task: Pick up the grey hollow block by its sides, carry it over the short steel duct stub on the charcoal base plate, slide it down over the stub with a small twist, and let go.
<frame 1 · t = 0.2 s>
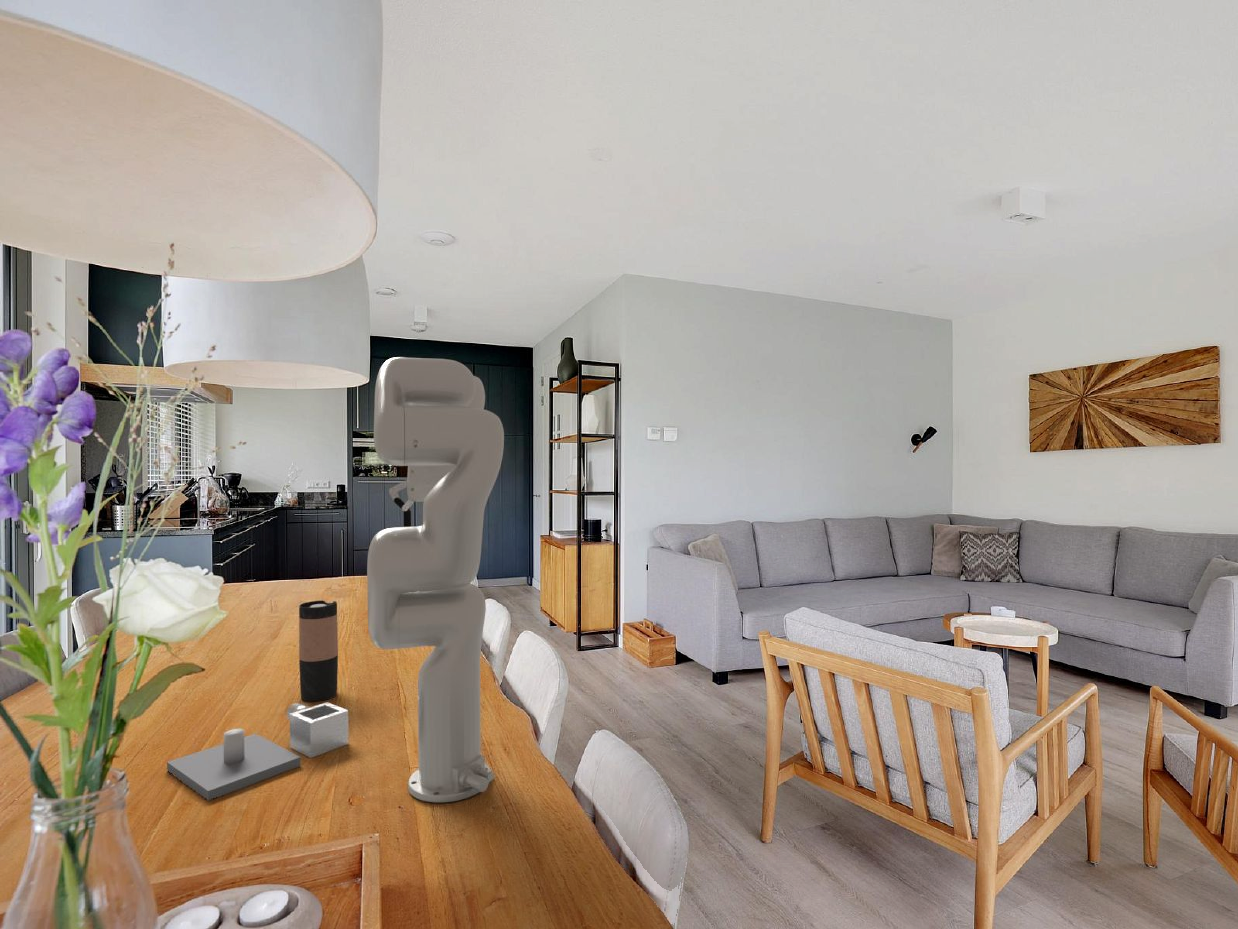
hand: (433, 529, 134), 37 cm above the table, tool pointing down, fingers open, 9 cm apart
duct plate: (234, 768, 109), on the table
grey hollow block: (319, 745, 118), on the table
travel mug: (319, 697, 143), on the table
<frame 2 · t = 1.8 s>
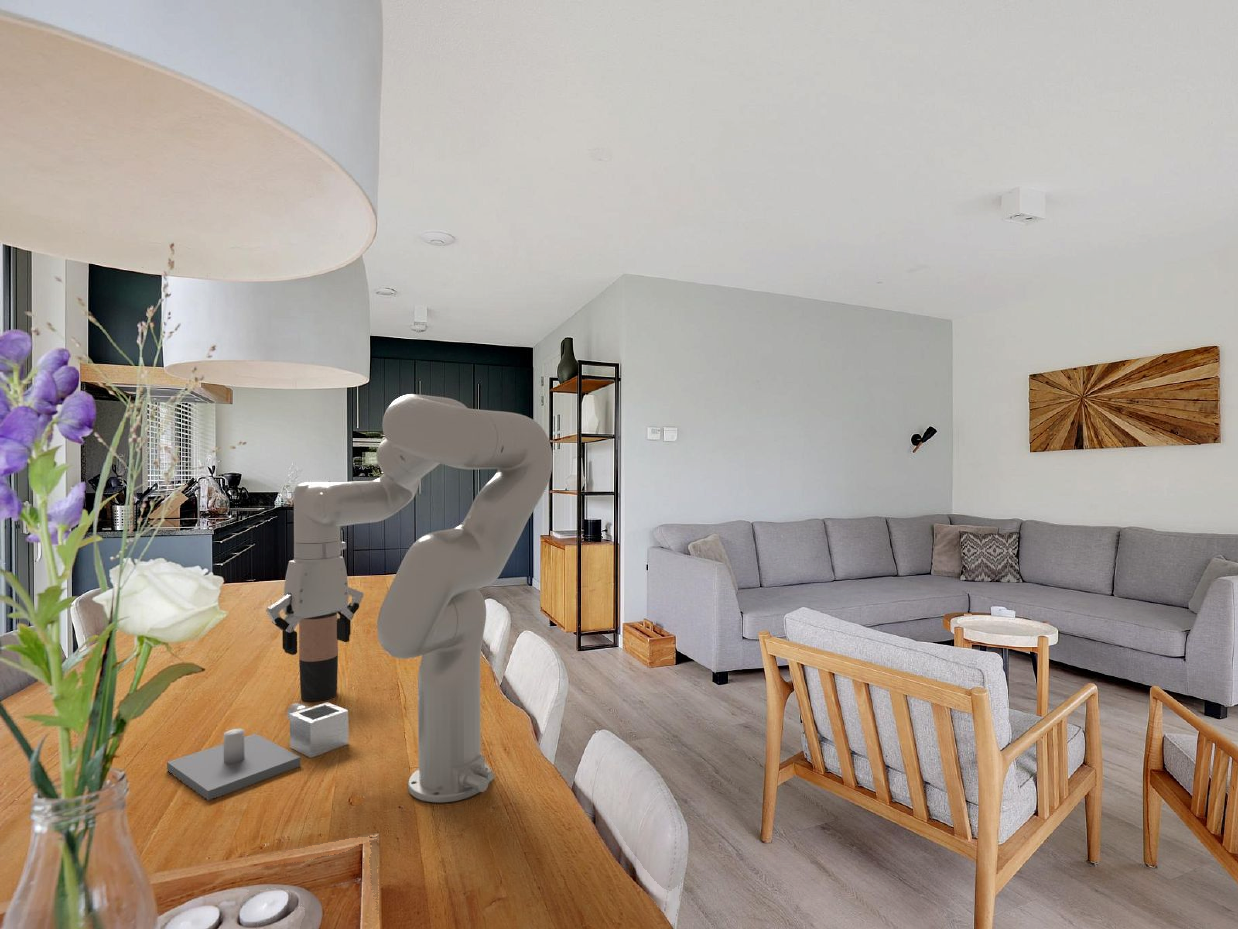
hand: (317, 646, 118), 18 cm above the table, tool pointing down, fingers open, 9 cm apart
nothing on the table moved.
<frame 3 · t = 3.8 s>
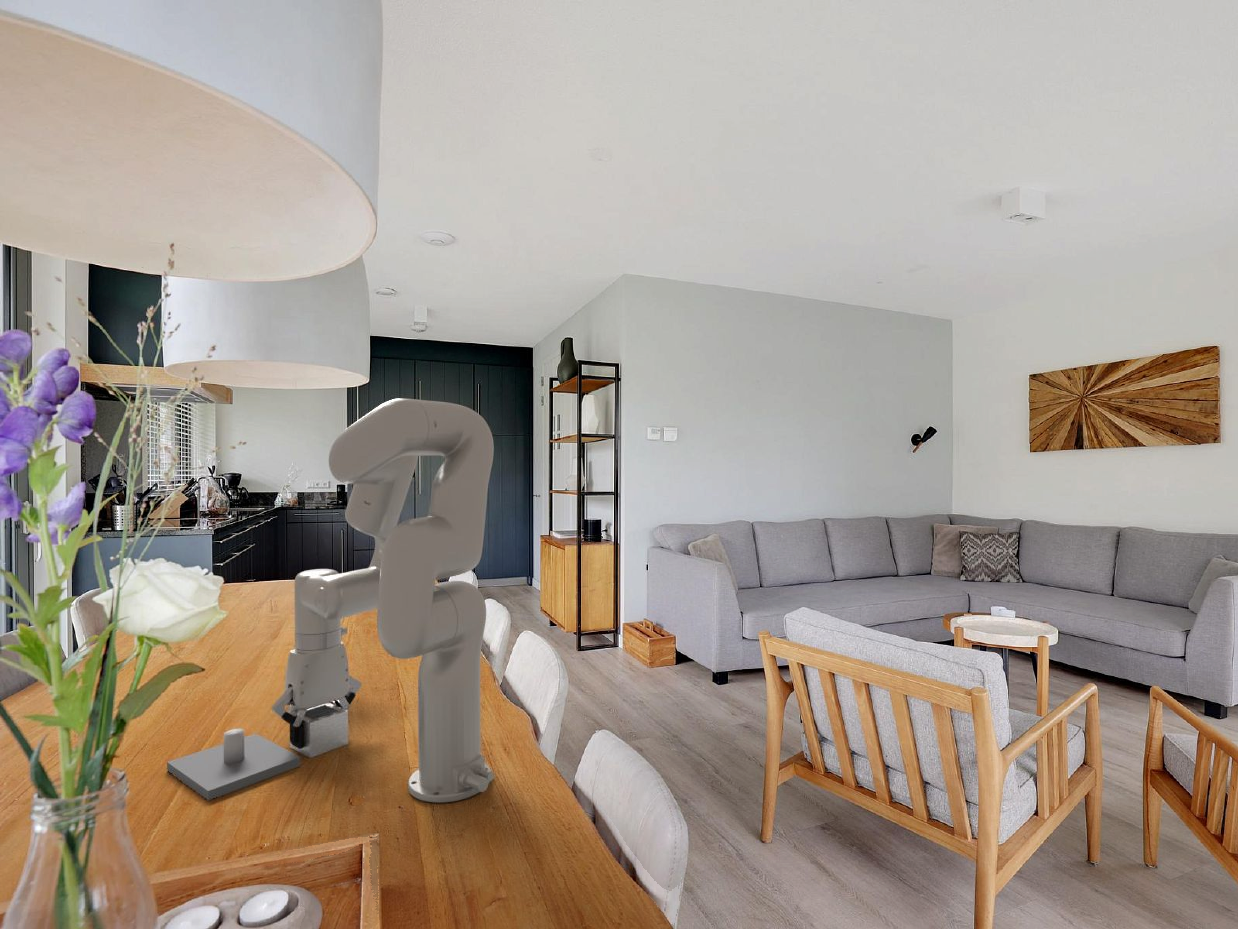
hand: (319, 738, 118), 1 cm above the table, tool pointing down, fingers closed on grey hollow block, 7 cm apart
grey hollow block: (319, 745, 118), on the table, touching gripper
everything else where it was.
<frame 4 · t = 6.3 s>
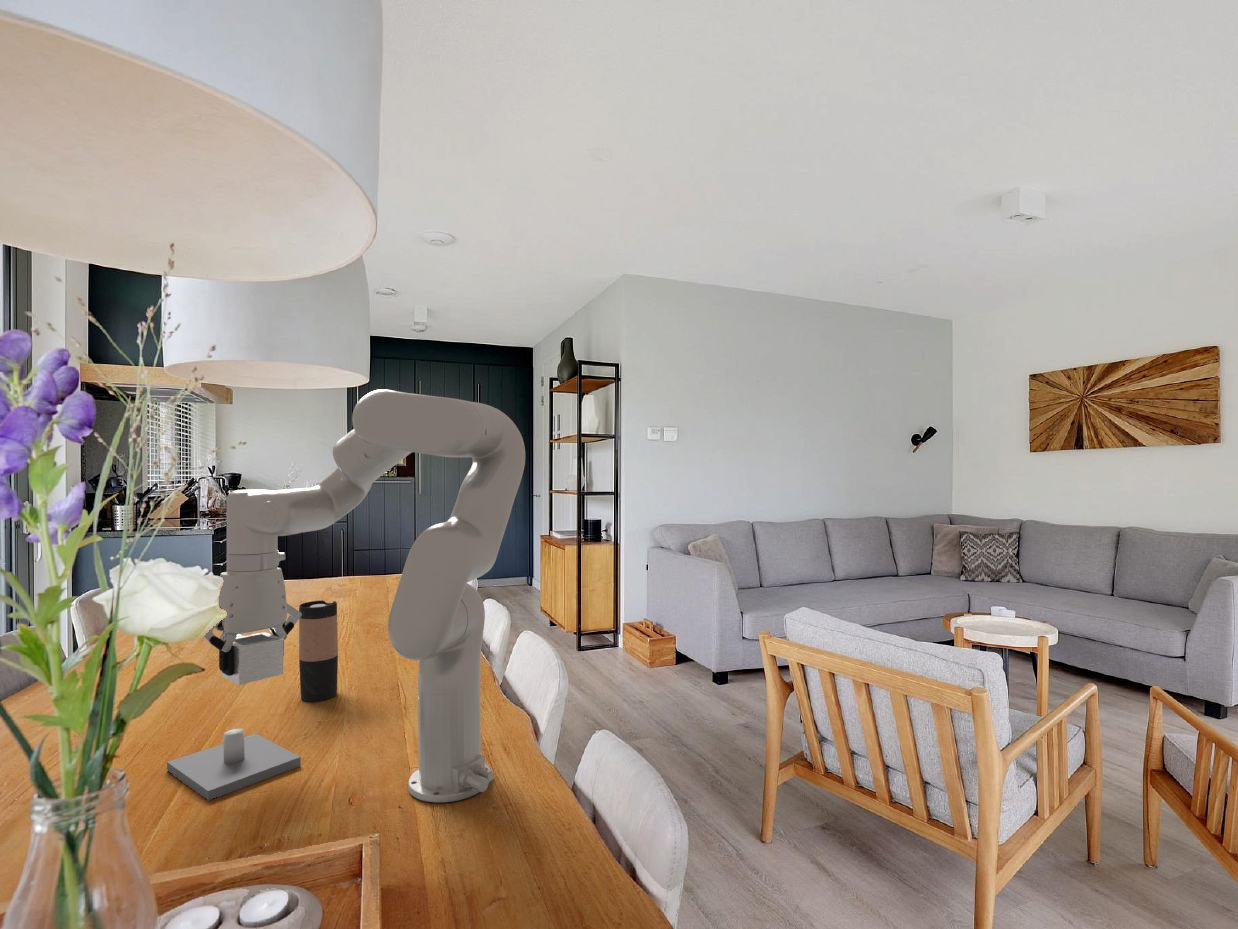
hand: (252, 667, 111), 16 cm above the table, tool pointing down, fingers closed on grey hollow block, 7 cm apart
grey hollow block: (252, 675, 111), point 15 cm above the table, touching gripper
everything else where it was.
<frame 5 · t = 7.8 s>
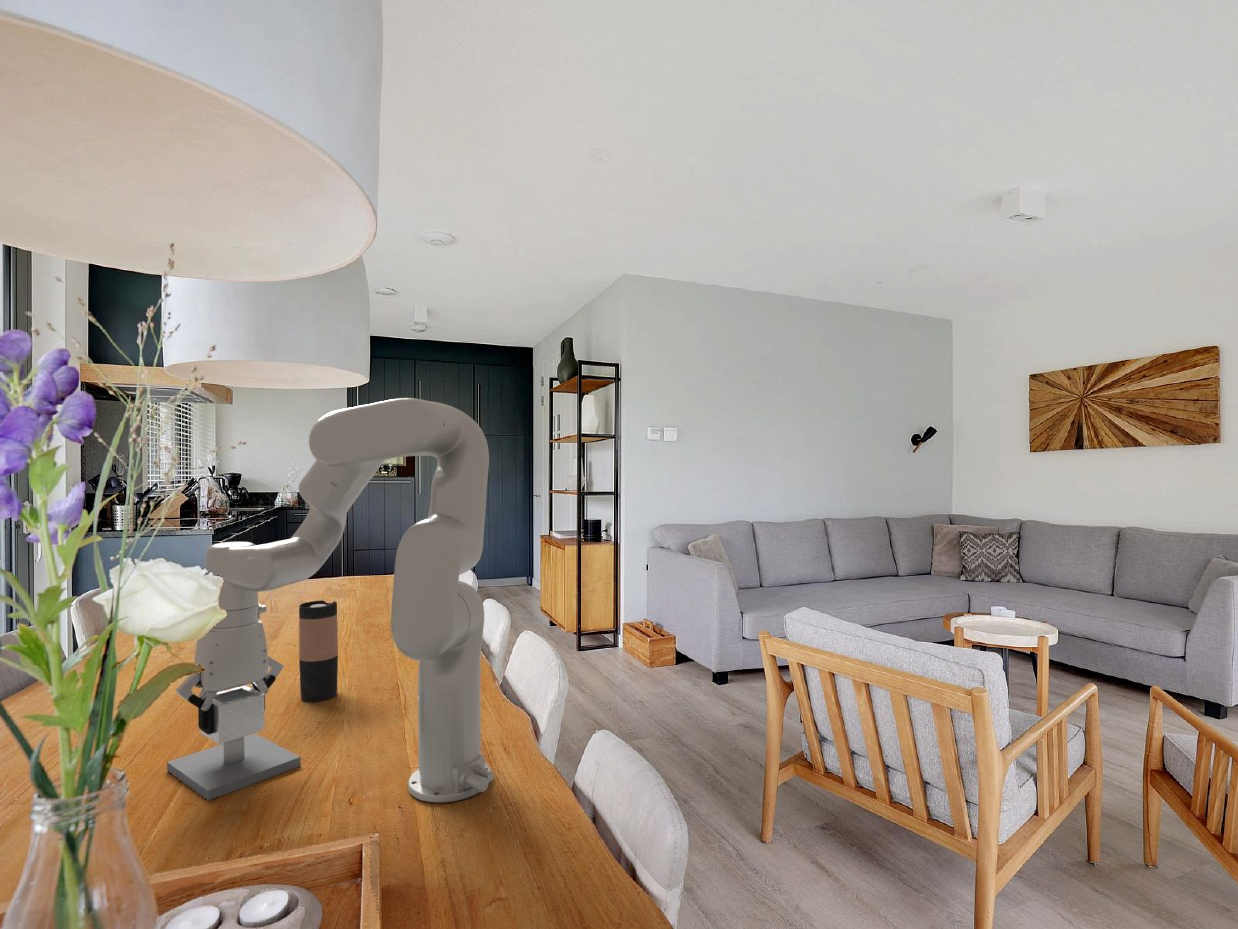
hand: (232, 723, 109), 7 cm above the table, tool pointing down, fingers closed on grey hollow block, 7 cm apart
grey hollow block: (232, 731, 109), point 6 cm above the table, touching gripper
everything else where it was.
when the fingers open (4 cm above the table, at t = 9.1 s): grey hollow block drops 1 cm, resting on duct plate.
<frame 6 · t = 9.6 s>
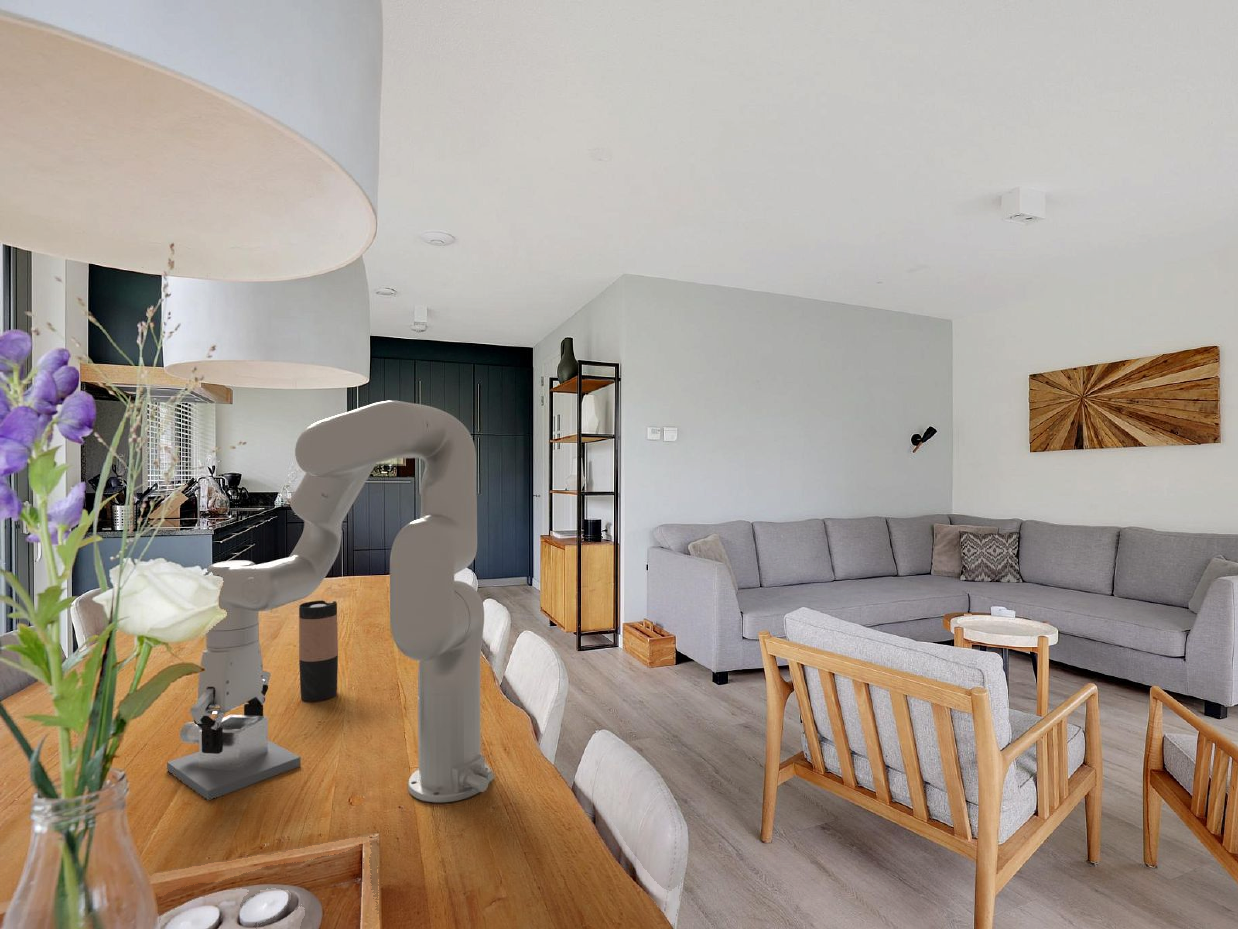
hand: (233, 739, 109), 5 cm above the table, tool pointing down, fingers open, 9 cm apart
grey hollow block: (234, 759, 109), point 1 cm above the table, touching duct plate
everything else where it was.
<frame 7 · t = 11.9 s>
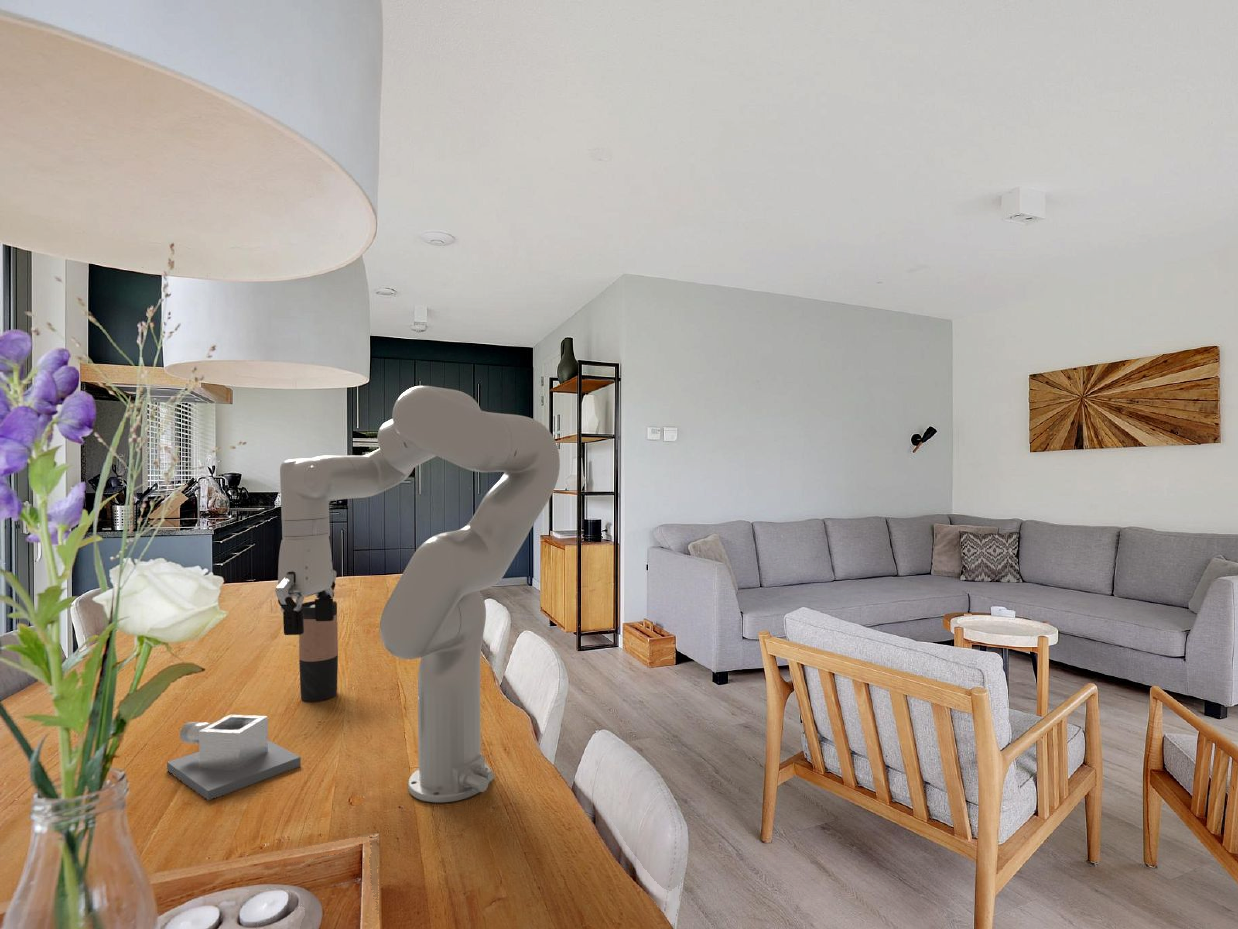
hand: (309, 627, 115), 22 cm above the table, tool pointing down, fingers open, 9 cm apart
nothing on the table moved.
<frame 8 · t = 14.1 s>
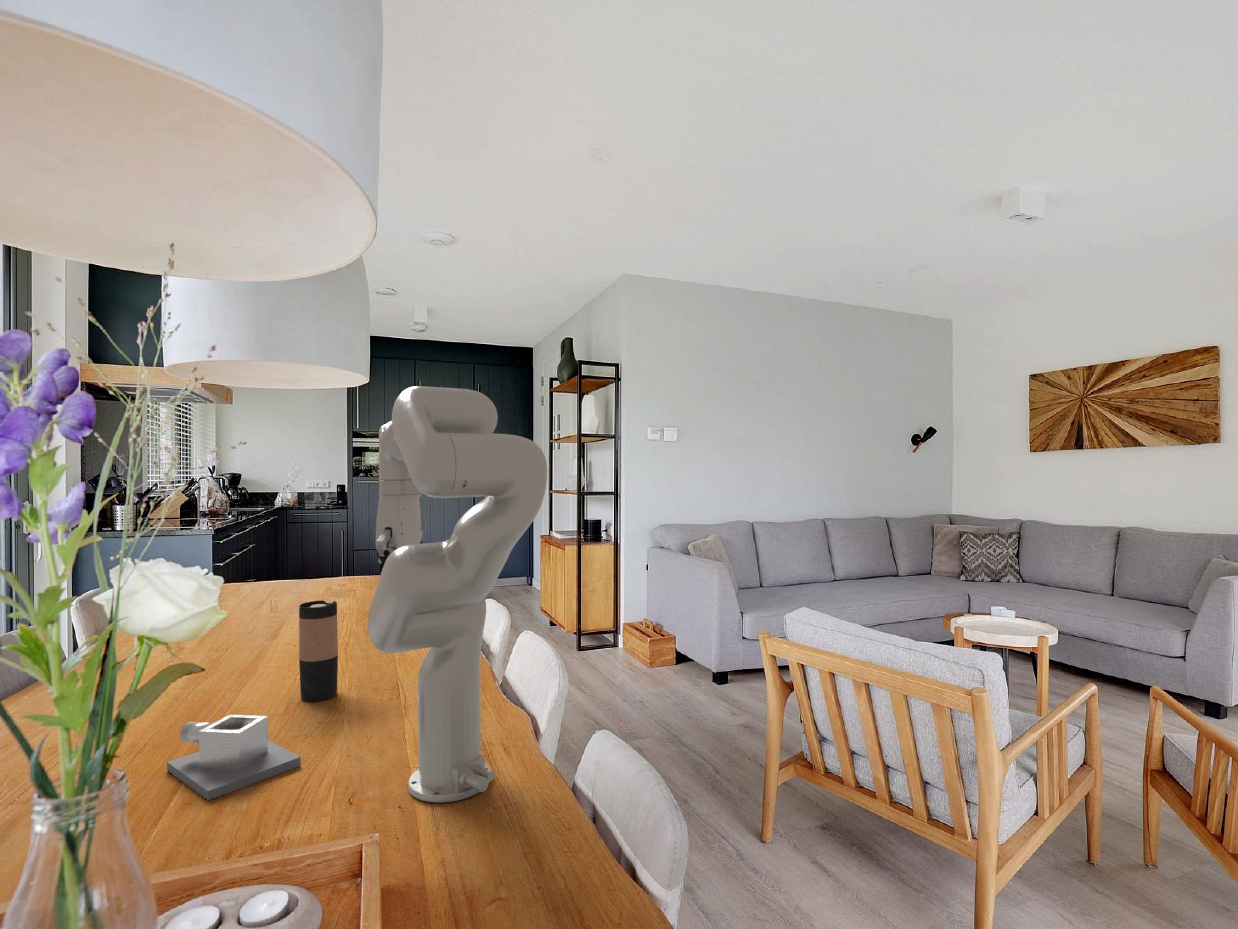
hand: (401, 580, 124), 28 cm above the table, tool pointing down, fingers open, 9 cm apart
nothing on the table moved.
at the end: grey hollow block 0.1 cm off-centre on the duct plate, point 1.5 cm above the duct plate's base; grey hollow block tilted 0°; the gripper is holding nothing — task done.
